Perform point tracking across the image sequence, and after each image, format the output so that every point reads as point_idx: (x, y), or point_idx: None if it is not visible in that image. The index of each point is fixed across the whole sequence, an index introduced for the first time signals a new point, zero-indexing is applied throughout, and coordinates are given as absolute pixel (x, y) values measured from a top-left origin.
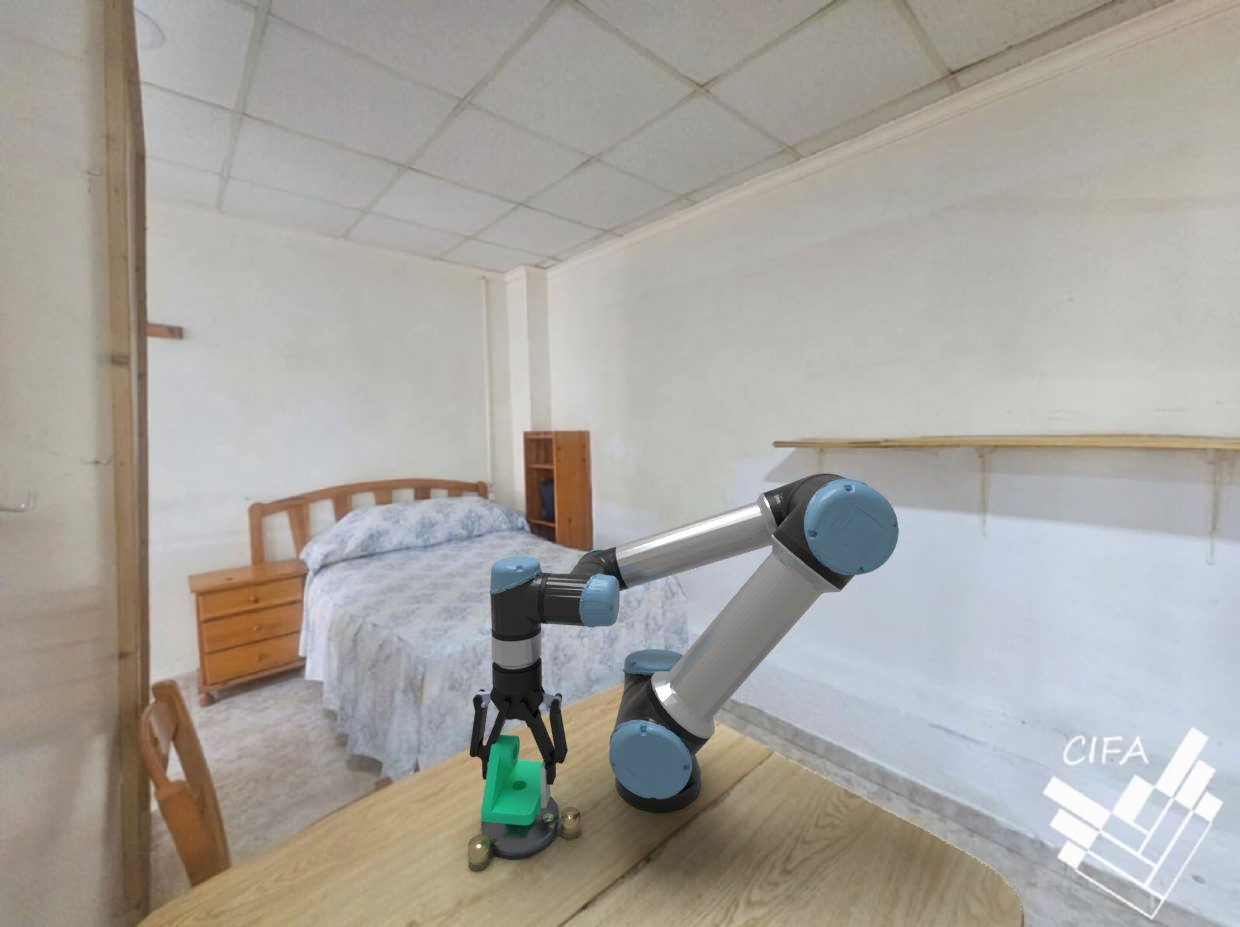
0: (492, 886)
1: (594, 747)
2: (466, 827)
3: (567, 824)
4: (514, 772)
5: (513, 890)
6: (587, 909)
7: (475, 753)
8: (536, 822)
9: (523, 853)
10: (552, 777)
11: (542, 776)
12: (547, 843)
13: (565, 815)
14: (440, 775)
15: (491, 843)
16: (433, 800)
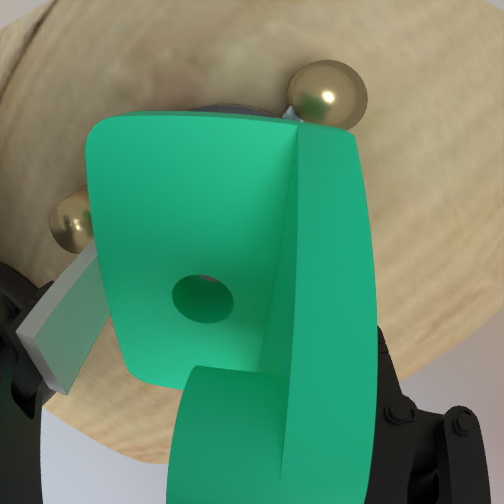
0: (255, 19)
1: (143, 402)
2: (380, 221)
3: (72, 198)
4: (246, 358)
5: (192, 13)
6: (33, 22)
7: (451, 429)
8: None
9: None
10: (33, 300)
11: (49, 302)
12: None
13: (78, 222)
14: (434, 353)
15: None
16: (451, 298)
